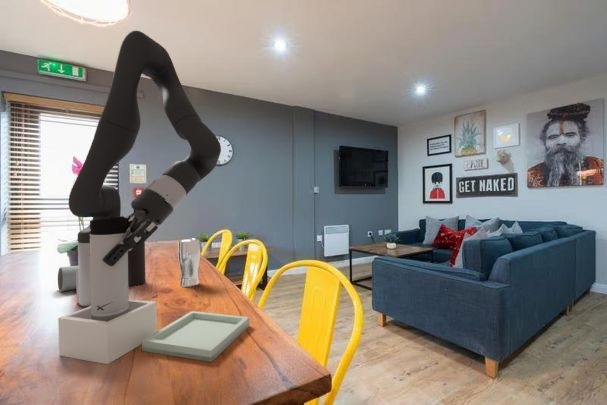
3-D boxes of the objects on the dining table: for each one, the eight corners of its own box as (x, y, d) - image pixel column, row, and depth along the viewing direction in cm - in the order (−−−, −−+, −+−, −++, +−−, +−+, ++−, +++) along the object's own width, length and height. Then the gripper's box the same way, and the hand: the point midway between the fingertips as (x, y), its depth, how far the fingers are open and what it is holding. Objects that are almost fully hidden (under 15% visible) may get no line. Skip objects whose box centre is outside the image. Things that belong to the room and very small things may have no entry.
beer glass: (193, 288, 95) (192, 241, 95) (173, 287, 97) (173, 241, 96) (204, 282, 102) (203, 238, 102) (186, 281, 103) (185, 238, 103)
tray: (142, 350, 56) (141, 340, 56) (192, 319, 71) (191, 311, 71) (211, 361, 52) (211, 350, 52) (249, 325, 67) (249, 317, 67)
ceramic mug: (94, 287, 97) (93, 264, 97) (62, 293, 91) (62, 269, 91) (84, 282, 104) (83, 260, 104) (54, 288, 98) (54, 265, 98)
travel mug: (101, 326, 55) (99, 218, 54) (85, 318, 58) (83, 216, 57) (135, 314, 60) (134, 215, 59) (118, 307, 63) (117, 214, 63)
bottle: (128, 281, 104) (127, 224, 103) (148, 281, 104) (147, 224, 104) (118, 287, 97) (117, 226, 97) (140, 286, 98) (138, 226, 97)
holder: (59, 355, 55) (58, 318, 55) (114, 328, 66) (113, 297, 66) (107, 364, 52) (106, 324, 52) (156, 334, 63) (156, 302, 63)
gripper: (133, 187, 69) (71, 245, 60) (164, 187, 60) (97, 254, 51) (156, 209, 73) (101, 266, 64) (188, 212, 64) (130, 278, 55)
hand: (100, 260), depth 57 cm, fingers closed on travel mug, 6 cm apart
